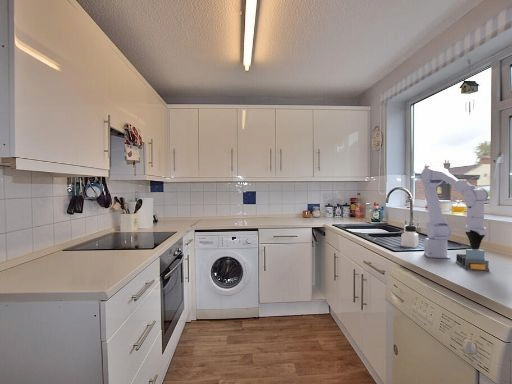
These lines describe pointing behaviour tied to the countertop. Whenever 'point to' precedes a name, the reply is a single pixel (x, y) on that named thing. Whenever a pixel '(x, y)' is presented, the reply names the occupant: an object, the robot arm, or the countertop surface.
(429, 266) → the countertop surface
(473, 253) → the panel
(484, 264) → the rack
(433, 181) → the robot arm
